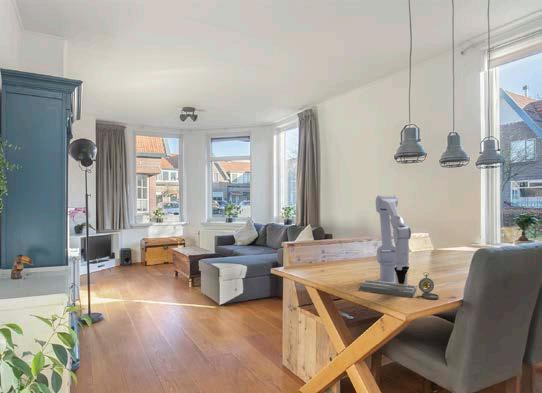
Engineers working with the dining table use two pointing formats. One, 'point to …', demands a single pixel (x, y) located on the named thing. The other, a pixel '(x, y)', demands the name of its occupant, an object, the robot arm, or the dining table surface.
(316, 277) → the dining table surface
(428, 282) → the pocket watch
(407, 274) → the fader tab
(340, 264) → the dining table surface
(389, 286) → the fader console
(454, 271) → the dining table surface
